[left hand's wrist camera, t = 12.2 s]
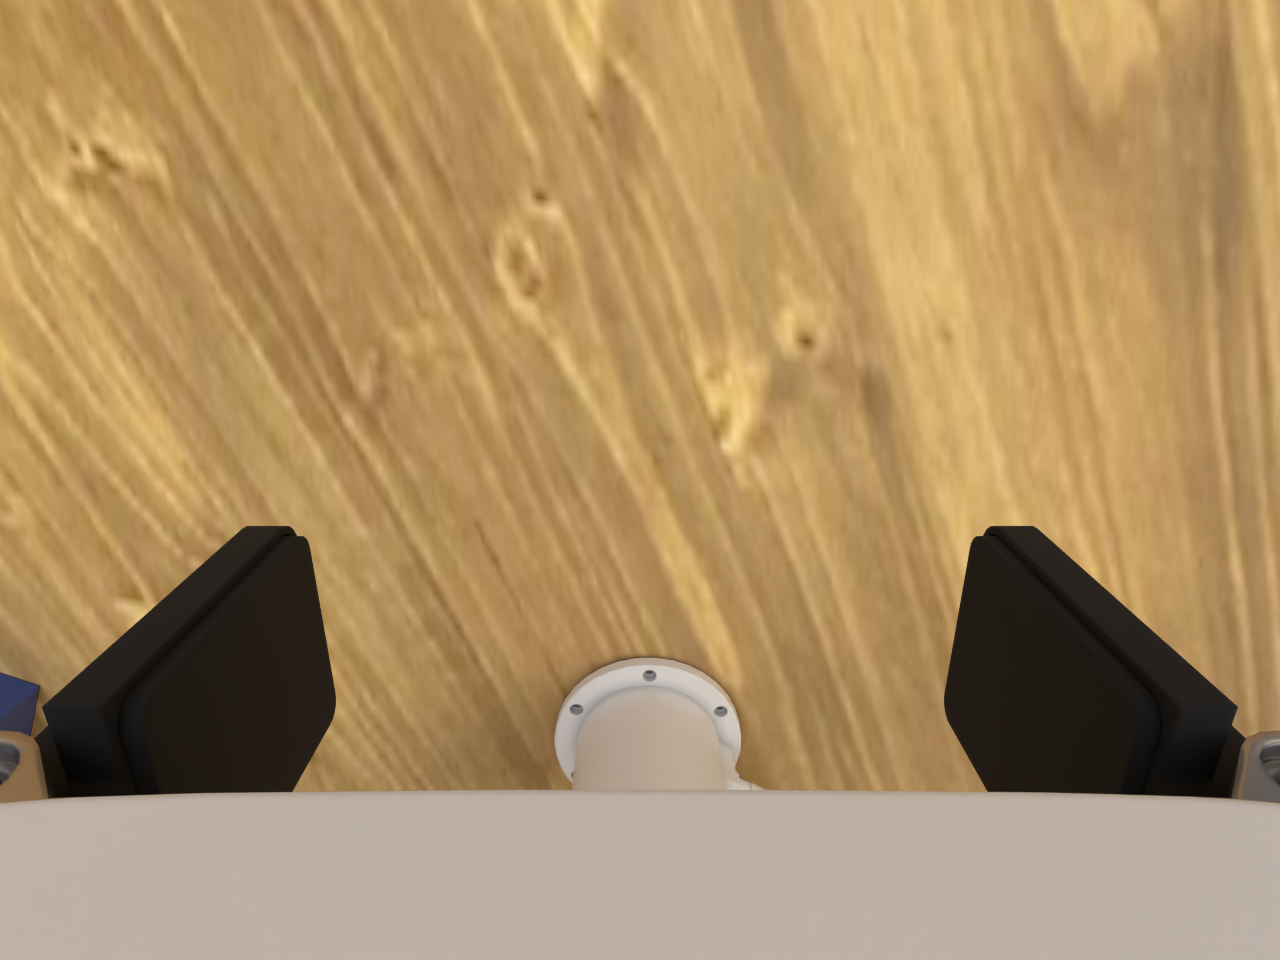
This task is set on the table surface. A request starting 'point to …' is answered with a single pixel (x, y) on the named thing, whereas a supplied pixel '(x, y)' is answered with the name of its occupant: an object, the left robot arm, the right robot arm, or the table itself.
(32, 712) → the block
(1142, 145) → the table surface
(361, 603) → the table surface
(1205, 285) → the table surface
